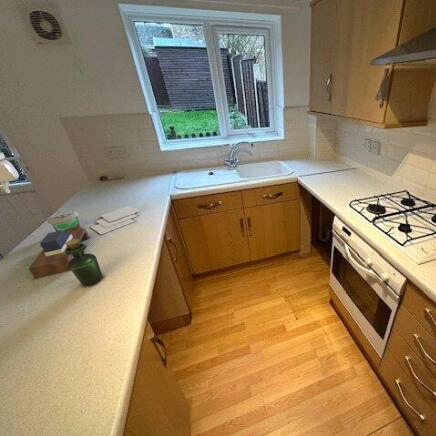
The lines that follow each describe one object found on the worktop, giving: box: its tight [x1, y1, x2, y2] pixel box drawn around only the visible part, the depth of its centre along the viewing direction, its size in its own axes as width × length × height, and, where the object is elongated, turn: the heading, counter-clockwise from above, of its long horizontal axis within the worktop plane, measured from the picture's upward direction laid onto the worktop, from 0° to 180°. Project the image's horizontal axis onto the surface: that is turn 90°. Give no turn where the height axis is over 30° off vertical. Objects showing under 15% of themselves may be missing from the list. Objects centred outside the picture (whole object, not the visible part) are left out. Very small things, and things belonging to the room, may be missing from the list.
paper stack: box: [90, 205, 141, 235], centre depth 137 cm, size 23×25×1 cm
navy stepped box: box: [39, 230, 73, 256], centre depth 104 cm, size 14×6×6 cm, turn 26°
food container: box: [46, 210, 82, 232], centre depth 122 cm, size 12×6×10 cm, turn 129°
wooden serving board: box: [28, 228, 90, 279], centre depth 106 cm, size 12×28×5 cm, turn 26°
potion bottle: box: [65, 239, 104, 287], centre depth 88 cm, size 8×8×18 cm
